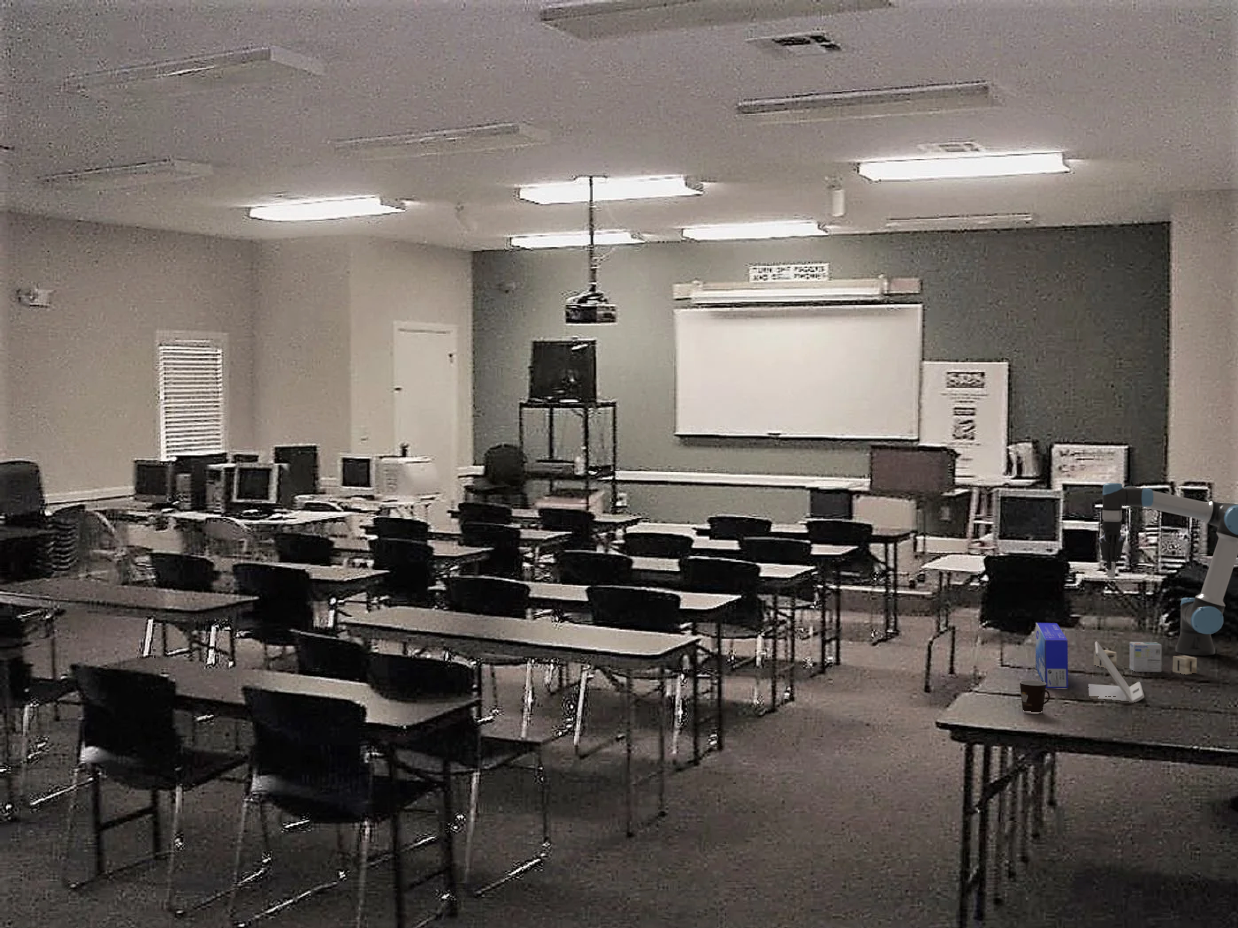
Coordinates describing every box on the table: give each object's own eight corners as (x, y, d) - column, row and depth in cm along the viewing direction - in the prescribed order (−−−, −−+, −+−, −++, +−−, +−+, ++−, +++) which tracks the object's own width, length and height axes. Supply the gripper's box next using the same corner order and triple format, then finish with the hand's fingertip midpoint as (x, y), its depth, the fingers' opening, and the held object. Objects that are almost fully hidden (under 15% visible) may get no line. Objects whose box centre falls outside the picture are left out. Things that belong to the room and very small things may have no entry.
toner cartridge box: (1034, 669, 527) (1035, 622, 526) (1057, 669, 525) (1058, 622, 524) (1044, 689, 489) (1044, 638, 488) (1068, 690, 487) (1069, 639, 486)
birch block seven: (1105, 664, 536) (1105, 649, 535) (1116, 667, 530) (1116, 652, 530) (1093, 665, 533) (1093, 650, 533) (1104, 668, 528) (1104, 653, 527)
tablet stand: (1089, 700, 471) (1090, 651, 470) (1088, 686, 495) (1088, 640, 494) (1144, 703, 466) (1145, 654, 465) (1140, 689, 489) (1141, 643, 489)
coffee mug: (1016, 709, 455) (1016, 679, 455) (1041, 709, 455) (1042, 680, 454) (1025, 717, 443) (1026, 687, 443) (1051, 717, 443) (1052, 687, 443)
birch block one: (1184, 670, 524) (1184, 655, 524) (1196, 673, 518) (1197, 658, 518) (1172, 671, 522) (1172, 656, 521) (1184, 674, 516) (1184, 659, 516)
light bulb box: (1156, 669, 527) (1157, 641, 527) (1162, 672, 520) (1162, 644, 520) (1128, 668, 528) (1129, 641, 527) (1133, 671, 521) (1134, 644, 521)
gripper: (1117, 519, 559) (1117, 575, 560) (1093, 520, 554) (1092, 577, 555) (1131, 520, 552) (1130, 577, 553) (1106, 521, 547) (1105, 579, 548)
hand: (1111, 577), depth 554 cm, fingers closed
